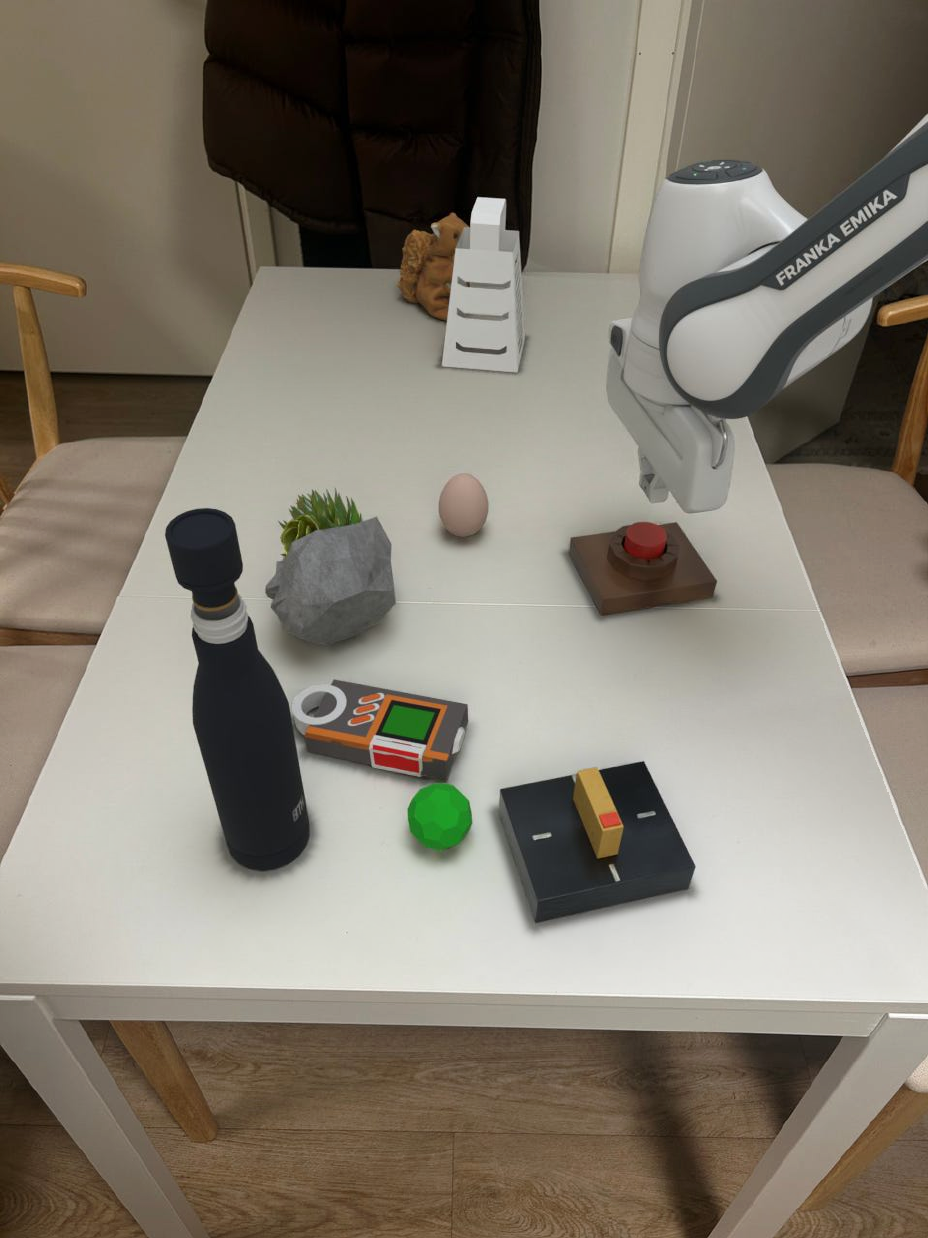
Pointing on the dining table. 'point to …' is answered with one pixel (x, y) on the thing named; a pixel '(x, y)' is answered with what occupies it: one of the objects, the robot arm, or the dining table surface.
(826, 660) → the dining table surface
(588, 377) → the dining table surface
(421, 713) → the electronic device
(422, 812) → the polyhedron
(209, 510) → the insulated water bottle
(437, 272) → the stuffed squirrel
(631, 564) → the button block
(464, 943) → the dining table surface
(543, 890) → the block
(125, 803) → the dining table surface
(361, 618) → the potted plant
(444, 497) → the egg
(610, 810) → the tap handle
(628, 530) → the button
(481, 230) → the grater
